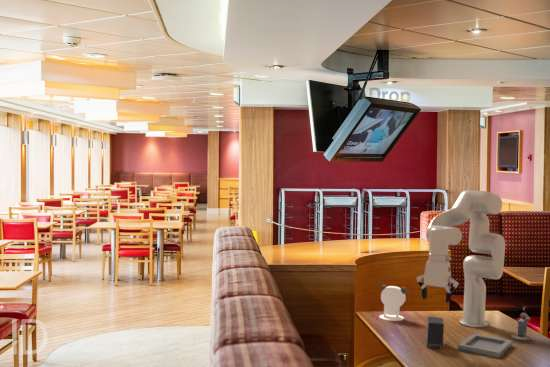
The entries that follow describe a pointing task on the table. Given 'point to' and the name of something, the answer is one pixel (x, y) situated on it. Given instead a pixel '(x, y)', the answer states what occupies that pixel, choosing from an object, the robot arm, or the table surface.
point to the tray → (485, 345)
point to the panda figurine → (392, 302)
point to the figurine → (522, 330)
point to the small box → (435, 332)
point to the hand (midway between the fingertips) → (436, 300)
